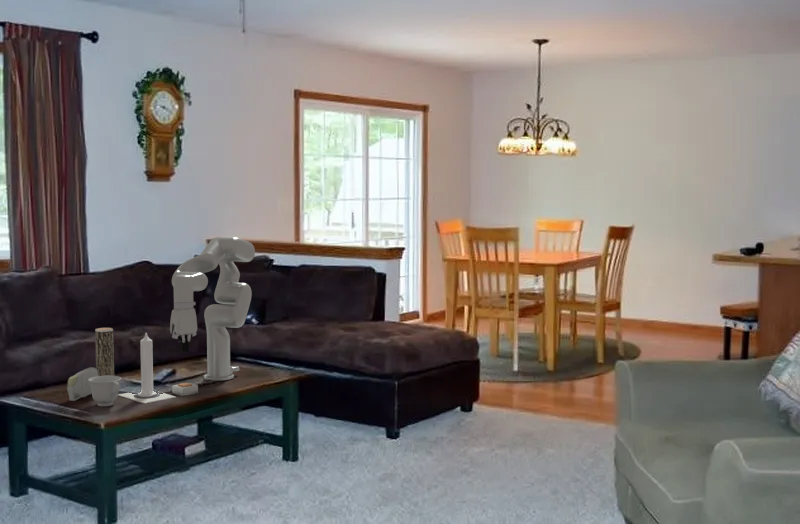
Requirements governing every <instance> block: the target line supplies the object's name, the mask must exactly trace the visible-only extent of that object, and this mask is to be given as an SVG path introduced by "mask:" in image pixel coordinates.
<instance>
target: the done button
mask: <svg viewBox="0 0 800 524" xmlns="http://www.w3.org/2000/svg"><path fill="white" fill-rule="evenodd" d="M192 384H193V383H190V382H182V383H178V384H177V385H178V386H180V387H183V388H184V387H189V386H192Z"/></svg>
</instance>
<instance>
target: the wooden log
mask: <svg viewBox="0 0 800 524" xmlns="http://www.w3.org/2000/svg"><path fill="white" fill-rule="evenodd" d="M94 336H95V341H94V342H95V368H96V369H97V371H98V376H105V375H112V376H115V362H114V361H115V360H114V357H115V355H114V353H115V352H114V329H113V328H112V327H99V328H98V327H97V328H95V334H94Z"/></svg>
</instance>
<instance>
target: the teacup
mask: <svg viewBox="0 0 800 524" xmlns="http://www.w3.org/2000/svg"><path fill="white" fill-rule="evenodd" d="M121 380H122V377H121V376H119V375H114V376H112V375H105V376H96V377H92V378H89V379H88V381H89V382H90V385H91V391H92V393H91V395H92V399H93V400H94V402H96V403H97V406H98V407H109V406H113V405H114V401H115V400H117V398H118V397H119V396H118V394H119V391H120V390H121V389H120V381H121Z"/></svg>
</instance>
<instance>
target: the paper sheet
mask: <svg viewBox="0 0 800 524" xmlns="http://www.w3.org/2000/svg"><path fill="white" fill-rule="evenodd" d="M162 393H163V394H159V393H158V394H157V395H156V396H153V397H140V396H138V394H132V393H129V392H124V393H118V396H117V397H122V398H125V399H128V400H131V401H133V402H134V401H135V402H137V403H141V404H143V405H145V404H150V403H155V402H160V401H161V402H162V401H166V400H171V399H175V398H177V396H174V395H171V394H169V393H164V392H162Z"/></svg>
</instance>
